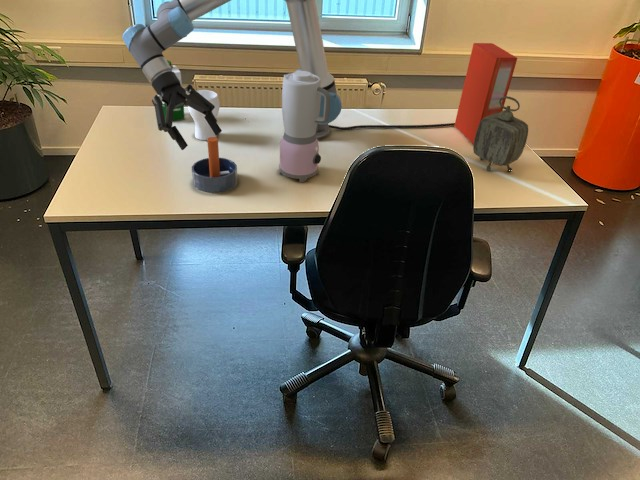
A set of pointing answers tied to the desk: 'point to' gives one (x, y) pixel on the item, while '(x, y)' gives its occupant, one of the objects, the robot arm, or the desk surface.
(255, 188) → the desk surface
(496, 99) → the file binder
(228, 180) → the bowl
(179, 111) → the milk carton
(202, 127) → the cup
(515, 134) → the tabletop clock
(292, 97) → the blender
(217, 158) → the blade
